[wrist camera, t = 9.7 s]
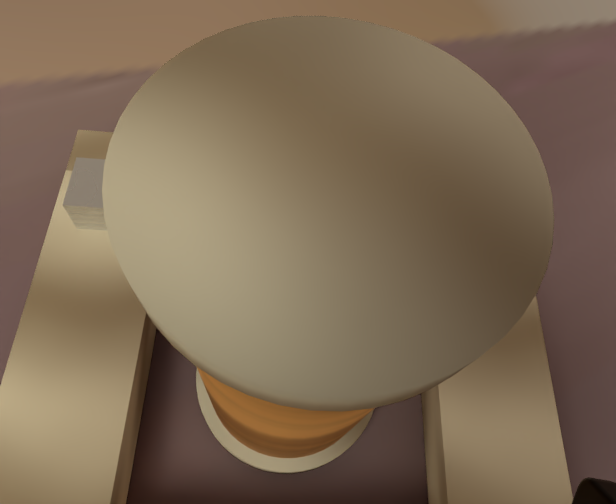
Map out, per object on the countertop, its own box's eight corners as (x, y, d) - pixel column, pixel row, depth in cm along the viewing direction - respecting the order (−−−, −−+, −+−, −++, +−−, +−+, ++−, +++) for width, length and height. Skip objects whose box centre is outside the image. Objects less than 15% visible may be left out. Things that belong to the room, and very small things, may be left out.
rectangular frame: (621, 1007, 13) (680, 1087, 11) (-149, 1025, 12) (-224, 1119, 10) (493, 191, 24) (512, 165, 22) (92, 160, 22) (78, 129, 21)
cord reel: (326, 510, 17) (472, 504, 6) (163, 416, 18) (-6, 241, 6) (399, 345, 20) (596, 113, 8) (255, 271, 21) (252, -32, 9)
